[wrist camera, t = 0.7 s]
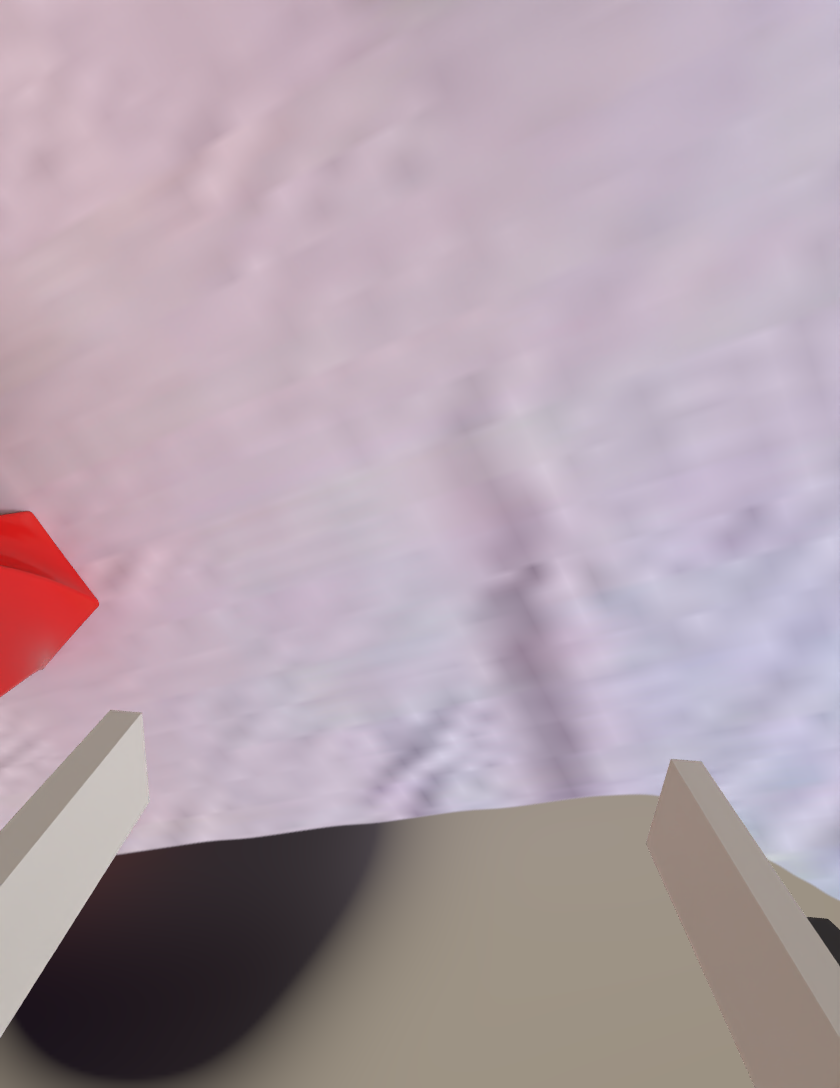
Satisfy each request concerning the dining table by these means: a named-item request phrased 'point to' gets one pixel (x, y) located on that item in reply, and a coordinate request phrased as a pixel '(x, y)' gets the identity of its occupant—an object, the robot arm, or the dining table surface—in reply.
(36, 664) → the vase
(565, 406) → the dining table surface
